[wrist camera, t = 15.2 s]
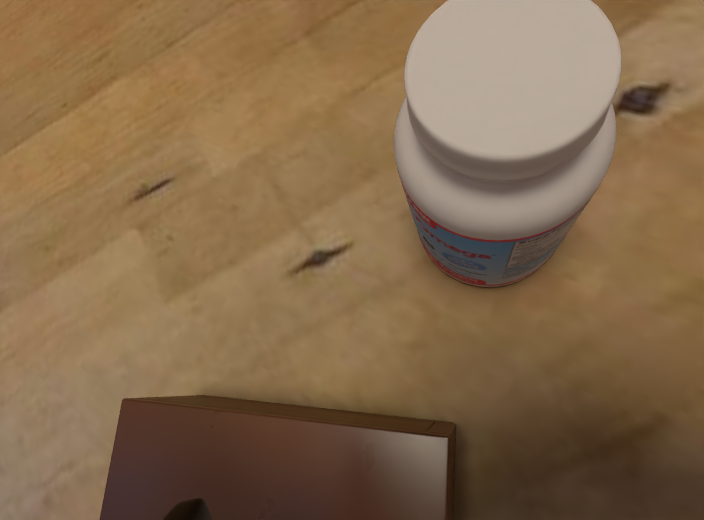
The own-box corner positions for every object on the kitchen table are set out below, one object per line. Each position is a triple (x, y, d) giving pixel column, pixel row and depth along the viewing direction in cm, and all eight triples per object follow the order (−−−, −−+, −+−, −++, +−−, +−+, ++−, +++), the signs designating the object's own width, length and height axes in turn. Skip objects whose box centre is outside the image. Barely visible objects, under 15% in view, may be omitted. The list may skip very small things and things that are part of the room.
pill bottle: (393, 211, 22) (323, 56, 12) (503, 134, 22) (531, -98, 11) (473, 318, 20) (475, 247, 10) (595, 235, 20) (733, 67, 9)
